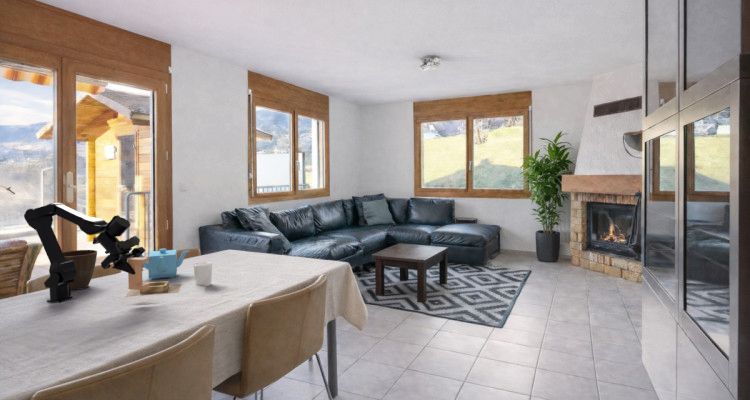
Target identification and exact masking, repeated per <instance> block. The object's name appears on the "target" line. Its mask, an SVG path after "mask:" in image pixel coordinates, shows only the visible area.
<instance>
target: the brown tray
mask: <svg viewBox="0 0 750 400" xmlns="http://www.w3.org/2000/svg"><path fill="white" fill-rule="evenodd" d="M148 283H149V288H146V289H144V290H134V289H129V290H128V293H127V294H125V298H126V297H136V296H139V297H140V296H149V295H151V296H152V295H162V294H175V293H179V291H180V289H181V287H182V285H183V284H182V283H175V284H170V281H169V280H165V281H152V282H148Z"/></svg>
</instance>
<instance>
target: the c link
mask: <svg viewBox="0 0 750 400" xmlns="http://www.w3.org/2000/svg"><path fill="white" fill-rule="evenodd" d="M127 262H128V263H129V264H130V266H131V267H132V268H133V269H134V271H135V272H136V273H135V274H134V275H133V274H130V273H127V275H128V276H127V277H128V290H131V289H134V290H144V289H146V288H149V282H143V271H142V269H143V264H144V263H147V262H149V258H148V257H144V258H139V257H134V258H131V259H128V260H127Z"/></svg>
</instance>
